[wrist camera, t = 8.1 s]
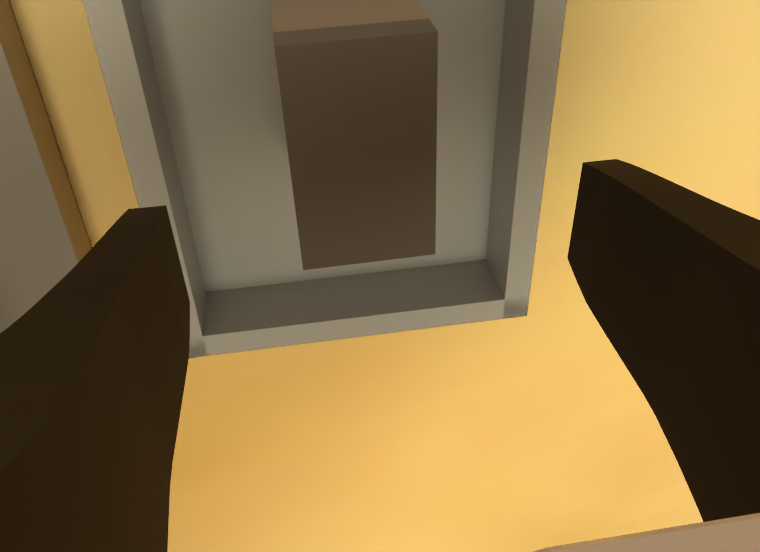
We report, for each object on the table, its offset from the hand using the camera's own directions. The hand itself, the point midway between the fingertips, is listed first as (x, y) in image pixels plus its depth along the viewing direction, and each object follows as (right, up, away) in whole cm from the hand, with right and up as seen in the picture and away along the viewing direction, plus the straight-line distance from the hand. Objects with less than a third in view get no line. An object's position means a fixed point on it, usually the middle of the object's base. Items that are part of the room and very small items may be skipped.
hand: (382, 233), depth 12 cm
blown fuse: (-1, +5, +7) cm, 9 cm away
